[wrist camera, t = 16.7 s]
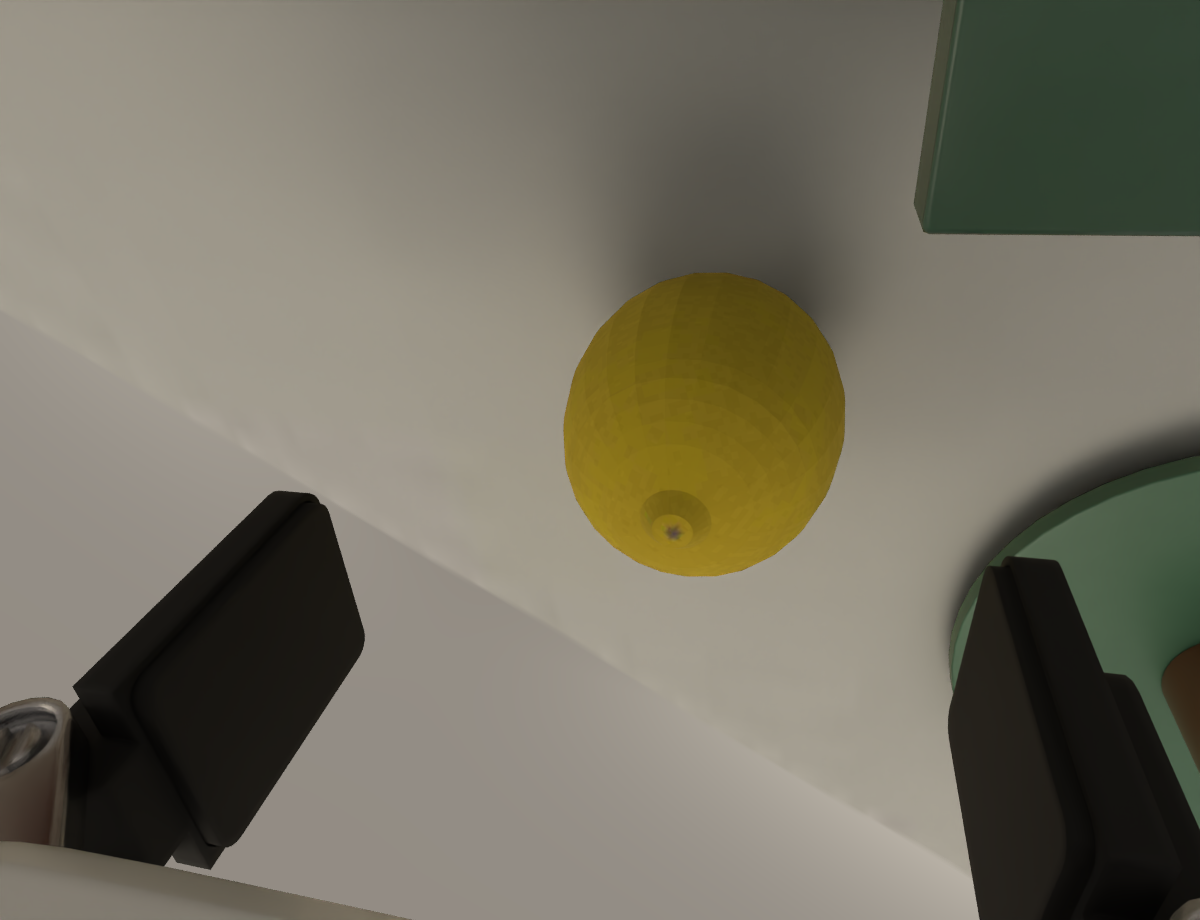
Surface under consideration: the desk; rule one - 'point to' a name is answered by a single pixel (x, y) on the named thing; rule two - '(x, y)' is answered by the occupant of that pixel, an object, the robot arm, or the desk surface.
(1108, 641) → the pot lid
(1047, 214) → the pot
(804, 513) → the lemon
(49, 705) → the robot arm
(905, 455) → the desk surface
